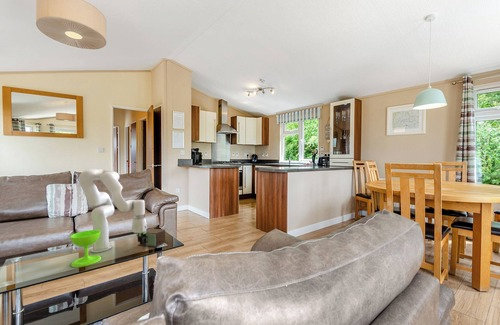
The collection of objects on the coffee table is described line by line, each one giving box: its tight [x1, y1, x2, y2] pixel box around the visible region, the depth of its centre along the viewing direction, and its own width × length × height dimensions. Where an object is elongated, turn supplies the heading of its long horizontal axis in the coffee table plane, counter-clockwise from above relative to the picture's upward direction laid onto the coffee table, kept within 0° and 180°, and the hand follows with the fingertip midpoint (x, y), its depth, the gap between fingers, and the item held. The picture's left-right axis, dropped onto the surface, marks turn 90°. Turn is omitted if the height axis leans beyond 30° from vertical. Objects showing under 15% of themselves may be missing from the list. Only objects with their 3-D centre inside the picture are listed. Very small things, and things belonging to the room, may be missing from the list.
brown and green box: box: [137, 227, 166, 249], centre depth 175 cm, size 16×12×10 cm
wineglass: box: [69, 229, 102, 268], centre depth 146 cm, size 16×16×18 cm
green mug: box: [142, 233, 156, 247], centre depth 167 cm, size 8×6×9 cm
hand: (140, 241), depth 167 cm, fingers closed
